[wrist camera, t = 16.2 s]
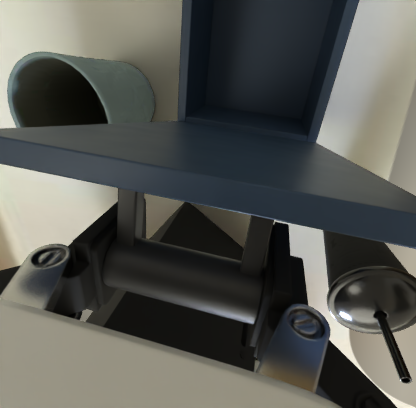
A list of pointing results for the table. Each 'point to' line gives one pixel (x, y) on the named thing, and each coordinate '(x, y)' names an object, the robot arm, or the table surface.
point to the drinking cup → (370, 290)
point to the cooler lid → (212, 200)
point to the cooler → (261, 63)
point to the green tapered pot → (77, 92)
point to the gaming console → (180, 315)
